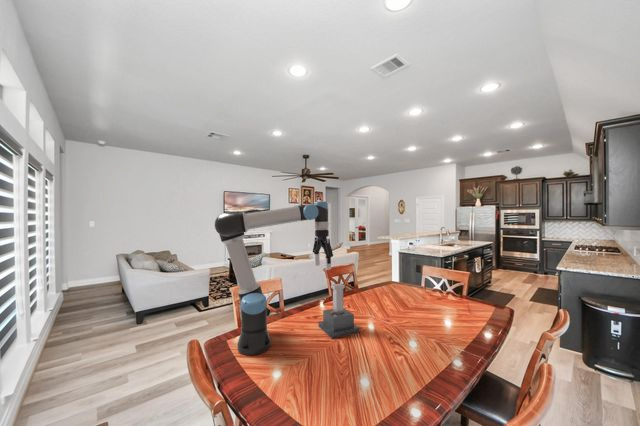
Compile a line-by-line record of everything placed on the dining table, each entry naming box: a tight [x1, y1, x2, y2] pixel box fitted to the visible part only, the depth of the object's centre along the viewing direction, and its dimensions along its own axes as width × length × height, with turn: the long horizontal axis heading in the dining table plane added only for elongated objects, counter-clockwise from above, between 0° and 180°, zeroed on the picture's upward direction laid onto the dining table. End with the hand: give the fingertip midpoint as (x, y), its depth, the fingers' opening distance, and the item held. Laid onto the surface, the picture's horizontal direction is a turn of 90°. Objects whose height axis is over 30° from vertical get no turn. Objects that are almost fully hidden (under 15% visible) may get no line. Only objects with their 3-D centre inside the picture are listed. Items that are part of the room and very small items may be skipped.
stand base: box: [318, 307, 360, 340], centre depth 141 cm, size 16×16×10 cm
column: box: [330, 283, 346, 315], centre depth 141 cm, size 6×4×24 cm
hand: (322, 267), depth 147 cm, fingers open, 13 cm apart
